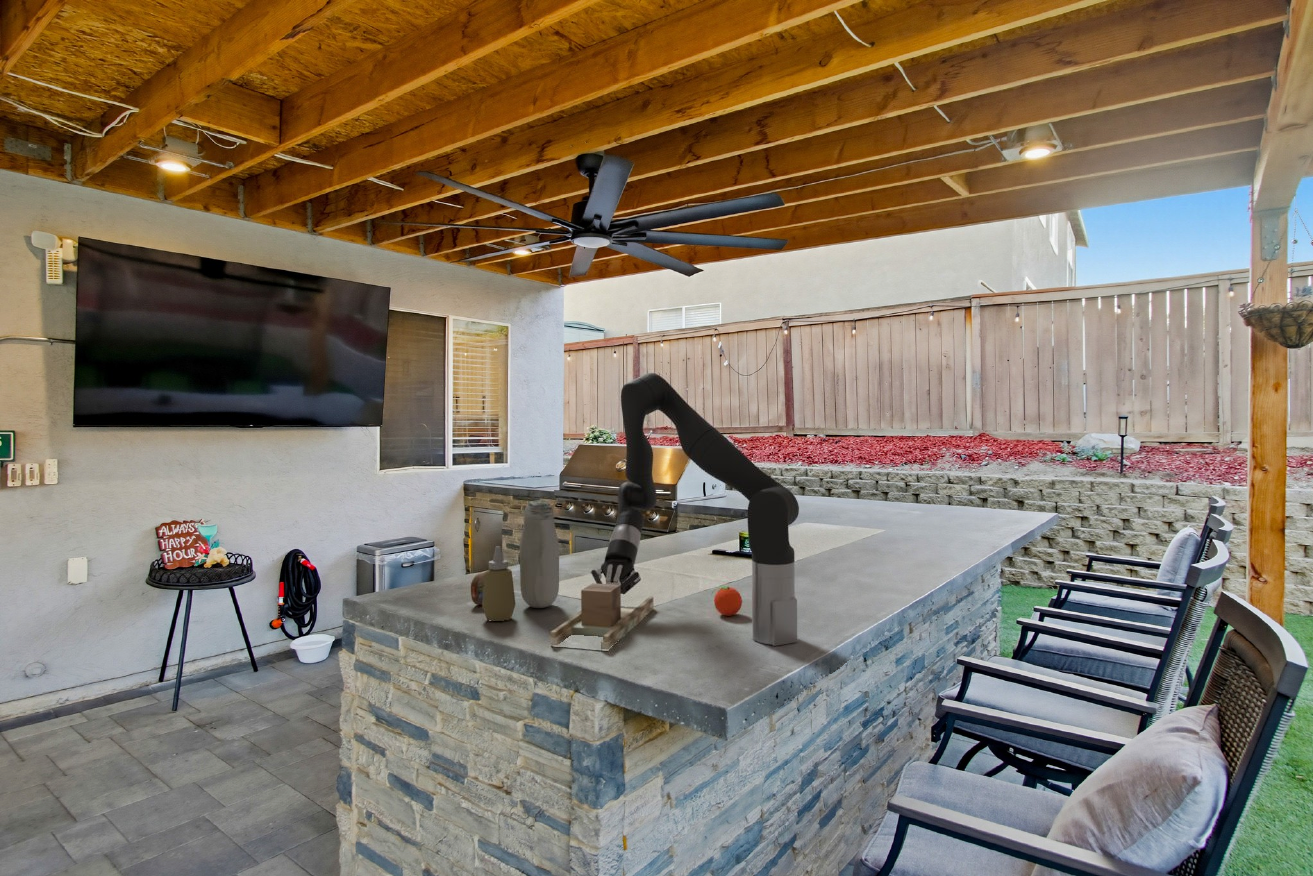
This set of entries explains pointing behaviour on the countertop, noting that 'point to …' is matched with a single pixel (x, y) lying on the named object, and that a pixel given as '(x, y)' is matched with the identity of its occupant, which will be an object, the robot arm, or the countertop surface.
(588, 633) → the track
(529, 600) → the grey vase
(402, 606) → the countertop surface
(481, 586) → the tin
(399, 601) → the countertop surface
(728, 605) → the clementine
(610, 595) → the walnut block
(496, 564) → the squeeze bottle
